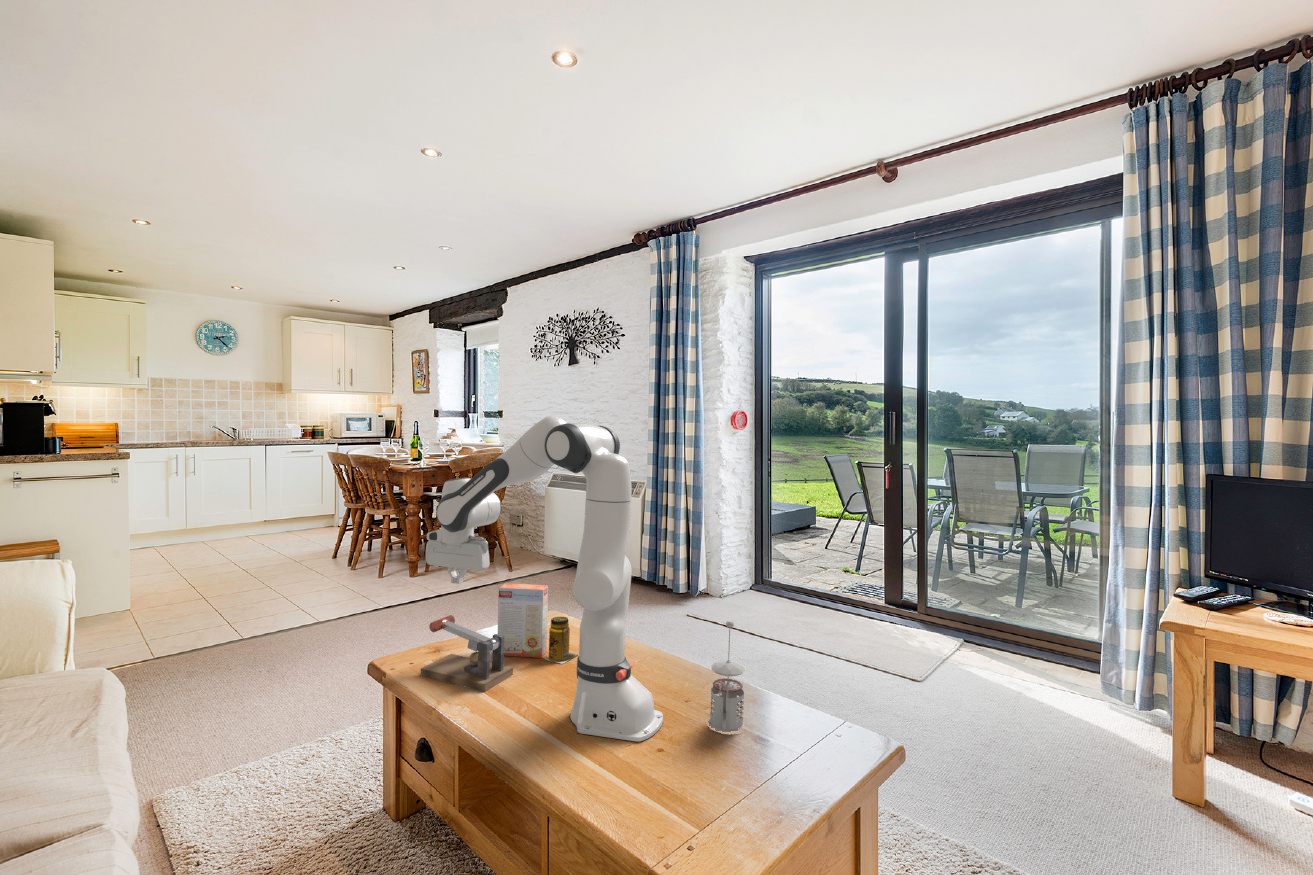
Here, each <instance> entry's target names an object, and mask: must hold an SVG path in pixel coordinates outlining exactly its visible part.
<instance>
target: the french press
mask: <svg viewBox="0 0 1313 875" xmlns="http://www.w3.org/2000/svg"><path fill="white" fill-rule="evenodd" d="M725 626H726V627H728V628H729V629H728V631H729V632H728V651H730V649H731V648H730V647H731V645H730V644H731V628H733V627H734V626H735V624H734V622H733V621H732V620H727V621H726V622H725ZM727 656H728V658H727V659H721V660H718V661H716V662H714V663H712V664H711V670H712V671H713V672H714V673H715V674H717V675H719V676H723V677H724V676H725V677H727V678H725V677H724V678H718V679H716V680H714V681H713V682H712V687H711V688H710V689H711V690H710V695H711V696H710V715H709V717H708V719H707V720H709V721H708V723H709V726H711V728H715V730H716V731H722V732H731V731H738V730H739V729H740V728H743V727H742V726H744V724H743V723H744V722H745V721H744V717H743V716H744V711H743V710H744V708H745V707H744V706H743V705H745V701H744V699H745V692H744V690H743V683H741V682H740V681H738V680H737V679H733V678H729V677H738V676H740V675H743V673H745V671H746V667H745V666H744V665H743V664H741V663H740V662H738V661H737V660H732V659H730V652H728V655H727ZM739 703H740V704H739ZM743 721H744V722H743ZM738 728H739V729H738Z"/></svg>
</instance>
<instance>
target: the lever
mask: <svg viewBox="0 0 1313 875" xmlns="http://www.w3.org/2000/svg"><path fill="white" fill-rule="evenodd" d="M455 622H456V619H455V617H454V615H451V614H450V615H448V616H444V617H441V618H440V619H437V620H434V621H432V622H430V623H429V626H428V627H429V631H430V632H432V633H437V632H439V631H441V630H444V631H446V632H449V633H451V634H453V635H455V636H458V637H460V638H462V639H465V640H467V641H468V642H467V646H466V647H467V649H469V650H471V651H474V652H478V642H480V641H485V642H489V643H490V652H492V651H493V650H495V649H497V648H498V647H499V646H500V644H501V642H500V639H499V638H498V637H493V636H492V637H491V638H490V637H488V636H486V635H483V634H481V633H478V632H476V631H475V630H472V629H469V628H468V627H467V628H466V627H464V626H462V625H459V624H457V623H455Z"/></svg>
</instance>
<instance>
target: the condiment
mask: <svg viewBox="0 0 1313 875" xmlns="http://www.w3.org/2000/svg"><path fill="white" fill-rule="evenodd" d="M569 624H570V623H569V618H568V617H565V616H555V617H552V618H551V619H550V627H549V630H548V631H549V636H548V643H549V644H548V656H546V657H545V658H543V660H544V661H547V662H548V661H549V662H551V663H557V664H560V665H563V664H565V663H567V662H569V661H570V660H572V659H573V658H576V657H577V656H579V653H573V652H570V631H571V629H570V627H569Z"/></svg>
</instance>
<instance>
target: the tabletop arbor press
mask: <svg viewBox="0 0 1313 875" xmlns="http://www.w3.org/2000/svg"><path fill="white" fill-rule="evenodd" d="M493 637H498V638H499V639H500V642H501V644H500V646H499V647H498V648H497V649H495V650H493V651H490V643H489V642H485V641H480V642H478V651H474V652H472V653H471V654H470V656H468V657H467V656H463V655H459V654H454V653H450V654H448V655H446V656H443V657H441V658H439V659H438V660H435V661H434V662H433V661H432V662H431V663H429V664H427V665H424V666H422V667H421V668H420V677H425V678H428V679H432V680H436V681H439V682H440V681H441V682H444V683H448V684H453V685H456V686H460V685H461V686H460V687H464V686H465V687H464V688H468V689H472V690H476V691H481V692H487V691H488V690H490V689H492V688H493V687H496V686H497V685H499V684H500V683H502V682H504V681H505V680H507V679H509V678H510V677H512V676H513V675H514V667H512V666H507V665H505V664H504V658H505V656H504V636H503V635H498V633H497V634H496V633H495V634H492V638H493ZM491 654H492V655H491Z"/></svg>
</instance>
